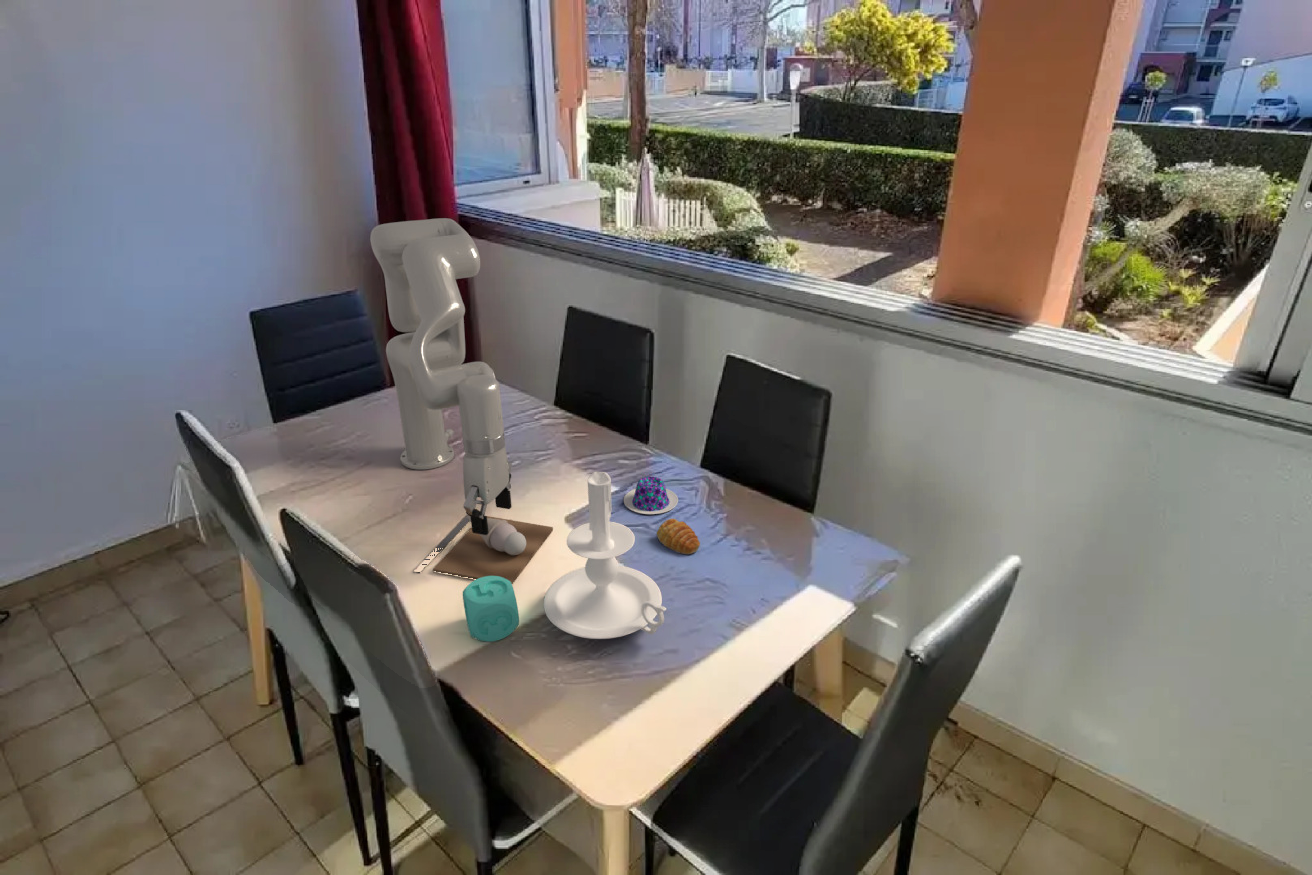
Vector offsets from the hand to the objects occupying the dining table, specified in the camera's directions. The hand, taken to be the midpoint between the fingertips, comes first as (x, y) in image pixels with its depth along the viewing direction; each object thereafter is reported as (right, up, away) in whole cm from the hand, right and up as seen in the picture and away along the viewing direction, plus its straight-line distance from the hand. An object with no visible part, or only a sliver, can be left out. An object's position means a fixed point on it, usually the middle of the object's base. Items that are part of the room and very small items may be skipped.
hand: (492, 520), depth 153 cm
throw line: (-11, -5, +6) cm, 13 cm away
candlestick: (+24, -16, -15) cm, 33 cm away
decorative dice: (+4, -17, -17) cm, 24 cm away
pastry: (+37, -5, +6) cm, 37 cm away
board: (0, -6, +3) cm, 7 cm away
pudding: (+31, +2, +20) cm, 37 cm away
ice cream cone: (0, -6, +3) cm, 7 cm away
